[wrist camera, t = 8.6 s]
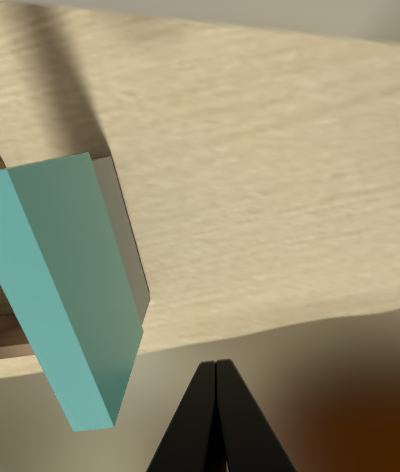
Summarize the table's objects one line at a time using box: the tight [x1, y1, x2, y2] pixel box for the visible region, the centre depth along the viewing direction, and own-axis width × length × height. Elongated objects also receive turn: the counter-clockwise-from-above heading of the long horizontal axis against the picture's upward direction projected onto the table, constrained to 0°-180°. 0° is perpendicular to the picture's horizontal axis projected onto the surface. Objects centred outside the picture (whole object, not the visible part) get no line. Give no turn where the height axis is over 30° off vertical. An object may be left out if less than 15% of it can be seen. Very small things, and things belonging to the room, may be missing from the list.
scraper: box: [0, 152, 150, 431], centre depth 15 cm, size 2×12×10 cm, turn 10°
